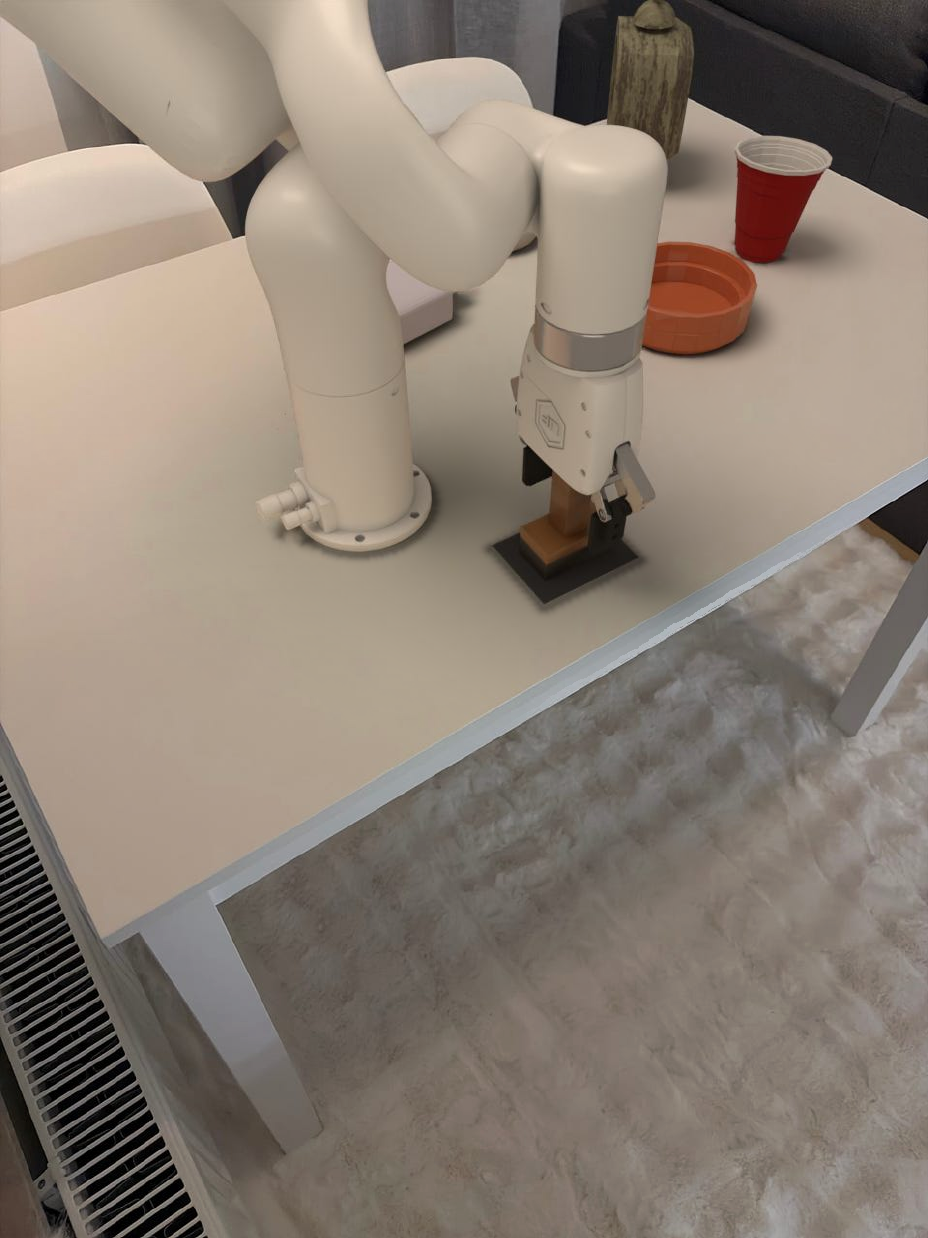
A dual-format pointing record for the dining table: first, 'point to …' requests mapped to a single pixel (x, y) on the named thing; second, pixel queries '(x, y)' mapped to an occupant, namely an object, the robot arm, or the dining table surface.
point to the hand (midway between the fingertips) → (570, 510)
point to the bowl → (697, 298)
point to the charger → (417, 303)
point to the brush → (559, 532)
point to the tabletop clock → (652, 74)
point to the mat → (567, 579)
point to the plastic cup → (773, 192)
